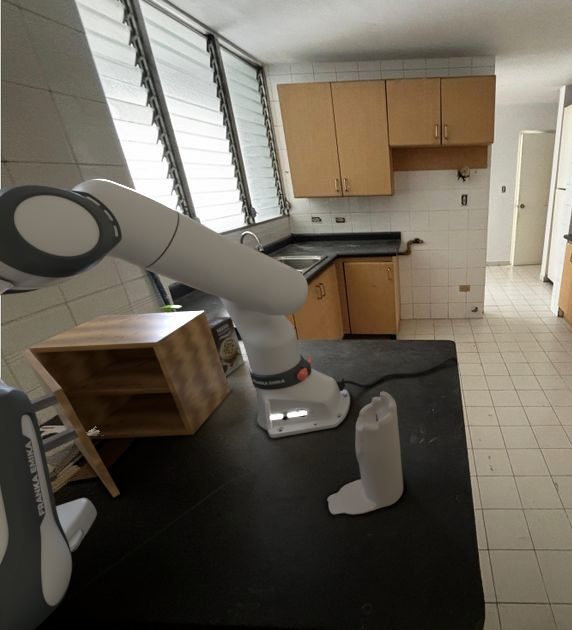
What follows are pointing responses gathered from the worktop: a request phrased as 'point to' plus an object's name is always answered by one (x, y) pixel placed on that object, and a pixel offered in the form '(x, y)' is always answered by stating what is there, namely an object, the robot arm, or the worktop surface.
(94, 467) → the cupboard door
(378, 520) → the worktop surface
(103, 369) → the cupboard
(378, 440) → the white l-shaped piece
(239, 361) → the coffee box
